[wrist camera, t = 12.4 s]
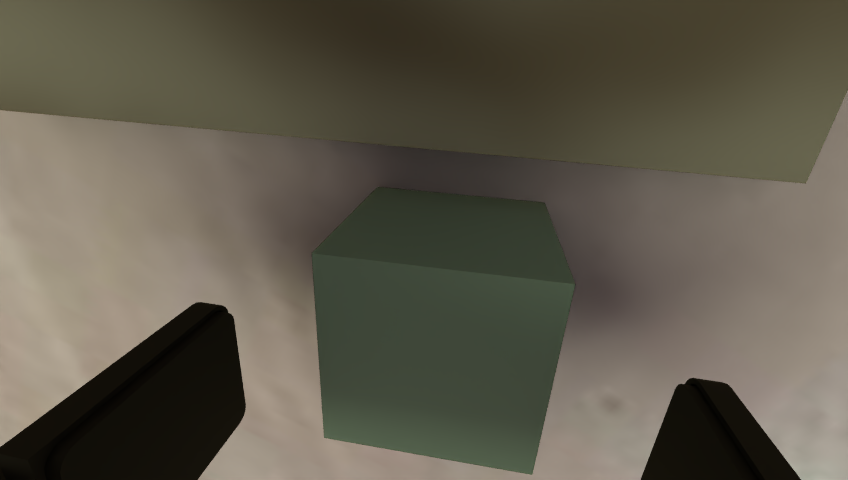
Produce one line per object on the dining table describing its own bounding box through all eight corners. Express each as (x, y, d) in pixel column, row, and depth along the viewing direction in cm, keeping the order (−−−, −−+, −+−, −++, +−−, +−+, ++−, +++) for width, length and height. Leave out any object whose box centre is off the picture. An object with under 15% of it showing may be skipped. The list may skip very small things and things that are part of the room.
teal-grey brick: (378, 186, 12) (311, 253, 8) (544, 201, 12) (575, 284, 7) (377, 321, 14) (324, 437, 10) (519, 341, 14) (532, 474, 9)
